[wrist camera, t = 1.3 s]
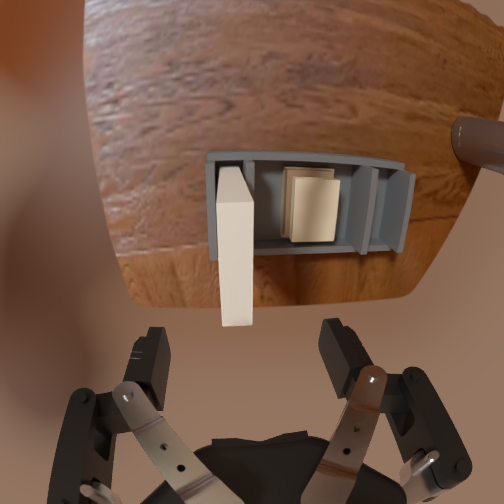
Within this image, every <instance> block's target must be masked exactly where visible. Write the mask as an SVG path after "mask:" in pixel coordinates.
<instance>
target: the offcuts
mask: <svg viewBox="0 0 504 504" xmlns="http://www.w3.org/2000/svg"><path fill="white" fill-rule="evenodd" d="M339 189H340V180H338V179H336V178H334V169H333V168H331V167H314V166H287V165H283V170H282V198H281V221H280V235H281V237H289V238H290V240H291V242H317V241H334V236H335V228H336V219H337V210H338V200H339Z"/></svg>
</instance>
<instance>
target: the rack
mask: <svg viewBox="0 0 504 504" xmlns="http://www.w3.org/2000/svg"><path fill="white" fill-rule="evenodd" d="M225 165H238V166H239V168H240V171H241V173H242V175H243V178H244V180H245V182H246V185H247V187H248V190H249V192H250V194H251V197H252V199H253V201H254V228H253V257H254V256H260V255H288V254H315V253H341V252H359V253H360V254H361V255H364V254H367V251H391V248H392V249H393V250H394V251H395V252H396V253H402V251H403V246H404V242H405V237H406V232H407V227H408V222H409V217H410V211H411V205H412V198H413V192H414V184H415V176H416V174H414V173H411V172H408V171H405V170H404V165H405V164H404V163H400V162H396V161H393V160H387V159H380V158H372V157H364V156H355V155H345V154H333V153H320V152H303V151H278V150H221V151H208V152H207V162H206V164H205V166H206V197H207V220H208V239H209V256H210V260H218V238H217V211H216V200H217V190H218V180H219V171H220V166H225ZM283 165H287V166H314V167H331V168H333V169H334V178H336V179H338V180H340V189H339V200H338V210H337V219H336V228H335V236H334V241H317V242H291V240H290V238H289V237H281V235H280V221H281V198H282V170H283Z"/></svg>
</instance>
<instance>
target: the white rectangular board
mask: <svg viewBox="0 0 504 504" xmlns="http://www.w3.org/2000/svg"><path fill="white" fill-rule="evenodd" d="M216 211H217V238H218V260H219V279H220V296H221V311H222V326H242V325H243V326H244V325H252V314H253V310H252V309H253V228H254V201H253V199H252V197H251V194H250V192H249V190H248V187H247V185H246V182H245V180H244V178H243V175H242V173H241V171H240V168H239V166H238V165H225V166H220V171H219V180H218V190H217V200H216Z"/></svg>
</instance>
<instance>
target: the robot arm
mask: <svg viewBox="0 0 504 504" xmlns="http://www.w3.org/2000/svg"><path fill="white" fill-rule="evenodd" d="M452 145H453V149H454V151H455V154H456V155H457V157H458V158H459V159H460V160H461V161H463V162H467V163H470V164H473V165H477V166H480V167H483V168H486V169H489V170H492V171H495V172H498V173H501V174H503V175H504V122H501V121H495V120H489V119H481V118H474V117H464V116H462V117H459V118H458V119H457V120H456V121H455V123H454V125H453V128H452ZM319 351H320V354H321V356H322V359H323V361H324V364H325V366H326V369H327V371H328V374H329V376H330V379H331V381H332V384H333V387H334V389H335V392H336V394H337V397H338V399H340V398H345V397H346V399H347V403H346V405H345V408H344V410H343V412H342V414H341V417H340V419H339V421H338V423H337V425H336V427H335V430H334V432H333V434H332V436H331V438H330V439H329V441H327V440H325V439H322V438H318V437H313V436H308V434H307V431H300V432H293V433H286V434H282V435H279V436H276V437H273V438H270V439H268V440H264V441H252V440H244V439H238V438H226V439H212V445H208V446H205V447H202V448H200V449H198V450H196V451H194V452H192V451H191V450H190V449H189V448H188V447H187V445H185V443H184V442H183V441H182V440H181V438H180V437H179V436H178V435H177V434H176V432H175V431H174V430H173V429H172V427H171V426H170V425H169V424H168V422H167V421H166V420H165V419H164V418H163V416H160V414H159V413H158V412H157V411H163V408H164V400H165V393H166V385H167V379H168V372H169V366H170V358H171V353H170V347H169V343H168V339H167V335H166V330H165V328H164V327H150V328H149V330H148V333H147V336H146V337H140V338H139V339H138V340H137V341H136V342H135V343H134V346H133V349H132V353H131V356H130V359H129V363H128V365H127V369H126V372H125V375H124V379H123V382H122V383H120V384H118V385H117V386H116V387H115V388H114V389H113V391H112V392H108V393H102V394H96V395H95V393H94V392H93V391H92V390H91V389H88V388H80V389H78V390H76V391H75V392H73V394H72V395H71V397H70V400H69V403H68V406H67V410H66V413H65V417H64V420H63V424H62V428H61V431H60V435H59V439H58V444H57V448H56V453H55V457H54V462H53V467H52V473H51V478H50V484H49V491H48V498H47V504H122V501H121V499H120V497H119V496H118V495H117V494H116V493H115V492H113V491H112V490H111V482H112V470H113V460H114V451H115V442H116V436H117V434H119V433H125V432H130V431H132V432H133V434H134V436H135V437H136V439H137V440H138V442H139V443H140V445H141V446H142V448H143V449H144V451H145V452H146V454H147V455H148V457H149V458H150V459H151V460H152V462H153V464H154V465H155V466H156V467H157V469H158V470H159V471H160V473H161V474H162V475H163V477H164V478H165V479H166V480H165V481H164V482H163V483H162V484H161V485H159V487H158V488H156V489H155V490H154V491H153V492H152V493H151V494H150V495H149V496H148V497H147V498H146V499H145V500H144V501H143V502H142V503H140V504H417V503H419V502H428V501H431V500H433V499H435V498H436V497H438V496H440V495H442V494H443V493H445V492H447V491H448V490H450V489H452V488H453V487H455V486H456V485H458V484H460V483H461V482H463V481H464V480H466V479H467V478H468V477H469V475H470V474H471V472H472V462H471V459H470V457H469V455H468V453H467V451H466V448H465V446H464V444H463V442H462V440H461V438H460V436H459V434H458V432H457V430H456V428H455V426H454V424H453V422H452V420H451V418H450V416H449V414H448V413H447V411H446V409H445V407H444V405H443V403H442V401H441V400H440V398H439V396H438V394H437V392H436V391H435V389H434V387H433V385H432V384H431V382H430V380H429V378H428V377H427V375H426V374H425V373H424V371H423V370H422V369H420V368H417V367H408V368H406V369H405V370H404V371H403V373H402V374H387V373H386V372H385V370H383V369H382V368H381V367H378V366H375V365H374V364H373V363H372V361H371V359H370V357H369V356H368V354H367V352H366V350H365V348H364V347H363V346H362V343H361V341H360V340H359V338H358V336H357V335H356V333H355V331H353V330H352V329H351V328H349V327H348V326H344V327H343V325H342V323H341V321H340V320H339V318H331V319H324V320H323V323H322V327H321V332H320V337H319ZM380 413H385V414H386V417H387V419H388V422H389V424H390V427H391V429H392V432H393V435H394V437H395V440H396V442H397V445H398V448H399V451H400V453H401V456H402V459H403V461H404V465H403V466H402V467H401V470H400V484H398V483H397V482H396V481H394V480H392V479H390V478H388V477H387V476H385V475H383V474H381V473H380V472H378V471H376V470H374V469H372V468H371V467H369V466H367V465H366V464H364V463H363V459H364V457H365V455H366V452H367V449H368V447H369V444H370V441H371V439H372V436H373V433H374V430H375V427H376V424H377V421H378V418H379V415H380Z"/></svg>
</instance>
